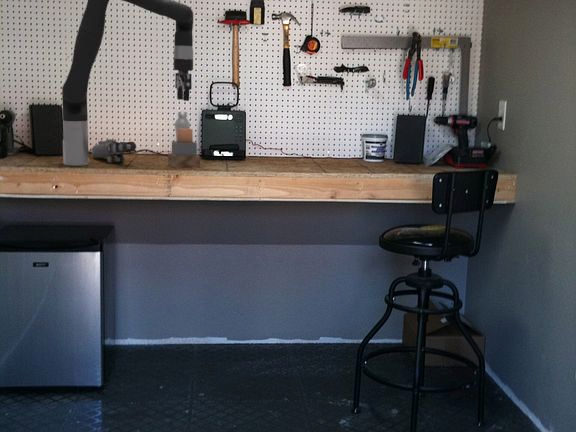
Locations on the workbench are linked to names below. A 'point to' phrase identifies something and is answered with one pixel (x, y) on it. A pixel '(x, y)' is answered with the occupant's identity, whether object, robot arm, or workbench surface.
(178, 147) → the grey square block
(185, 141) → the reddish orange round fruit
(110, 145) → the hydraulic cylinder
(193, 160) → the tower base
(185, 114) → the grey figurine
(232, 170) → the workbench surface
